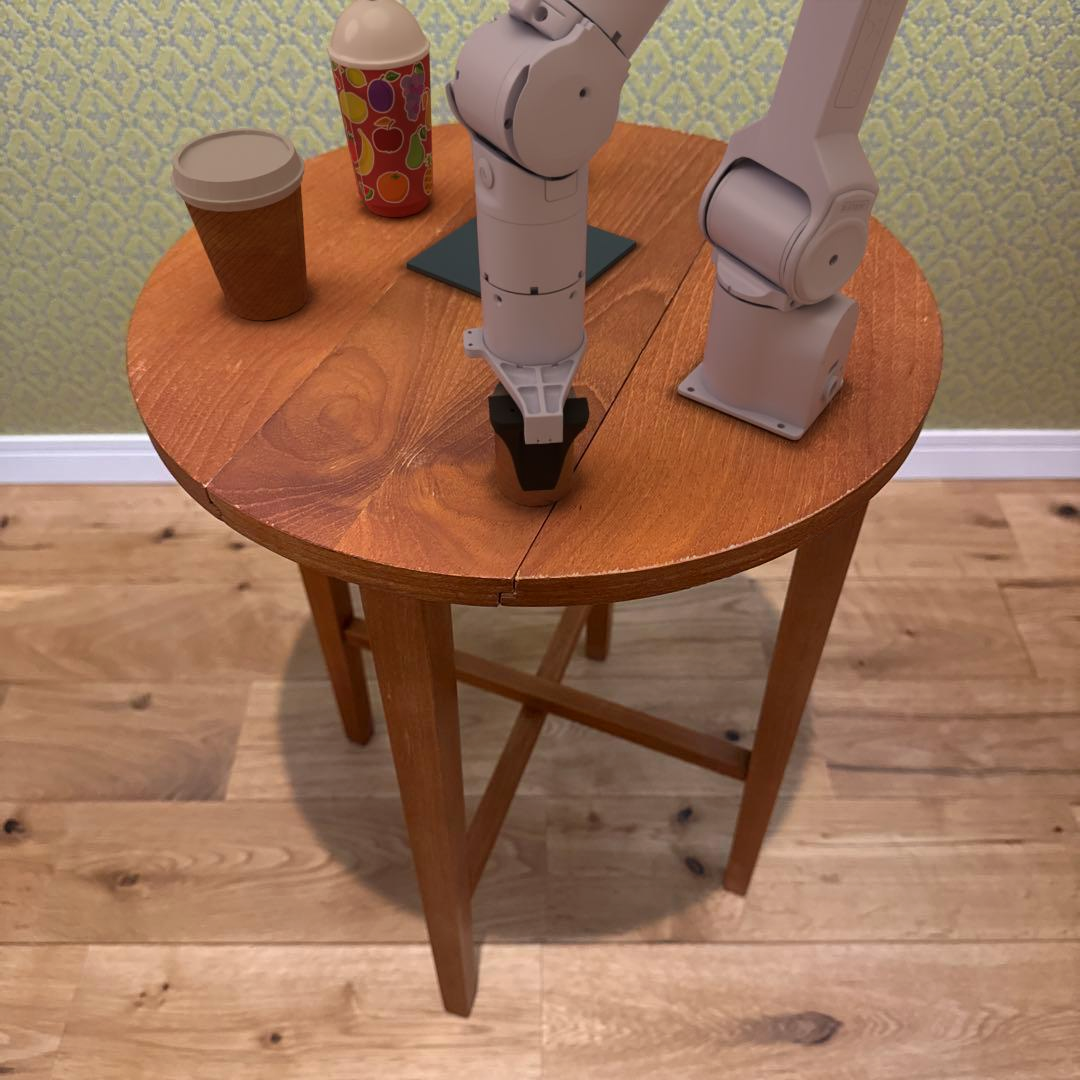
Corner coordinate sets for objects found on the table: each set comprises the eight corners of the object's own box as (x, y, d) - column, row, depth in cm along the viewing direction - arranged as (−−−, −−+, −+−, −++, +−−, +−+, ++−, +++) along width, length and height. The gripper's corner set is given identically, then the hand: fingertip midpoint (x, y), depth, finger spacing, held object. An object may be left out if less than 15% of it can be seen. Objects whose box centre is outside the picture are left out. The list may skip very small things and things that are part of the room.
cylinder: (587, 473, 64) (591, 388, 59) (544, 517, 61) (544, 432, 56) (526, 444, 66) (525, 359, 61) (481, 486, 63) (475, 400, 58)
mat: (636, 246, 84) (636, 241, 83) (542, 322, 76) (542, 316, 75) (506, 201, 89) (506, 196, 89) (406, 267, 81) (406, 262, 81)
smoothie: (393, 173, 93) (365, -64, 79) (461, 197, 90) (444, -46, 75) (332, 208, 88) (290, -37, 74) (401, 235, 85) (371, -17, 71)
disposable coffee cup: (184, 301, 78) (139, 155, 69) (281, 255, 83) (250, 114, 74) (255, 348, 74) (216, 199, 65) (352, 297, 78) (328, 151, 70)
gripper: (455, 204, 57) (468, 389, 67) (461, 349, 47) (476, 542, 57) (574, 198, 57) (570, 384, 67) (606, 342, 47) (595, 534, 57)
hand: (534, 456), depth 62 cm, fingers closed on cylinder, 5 cm apart
